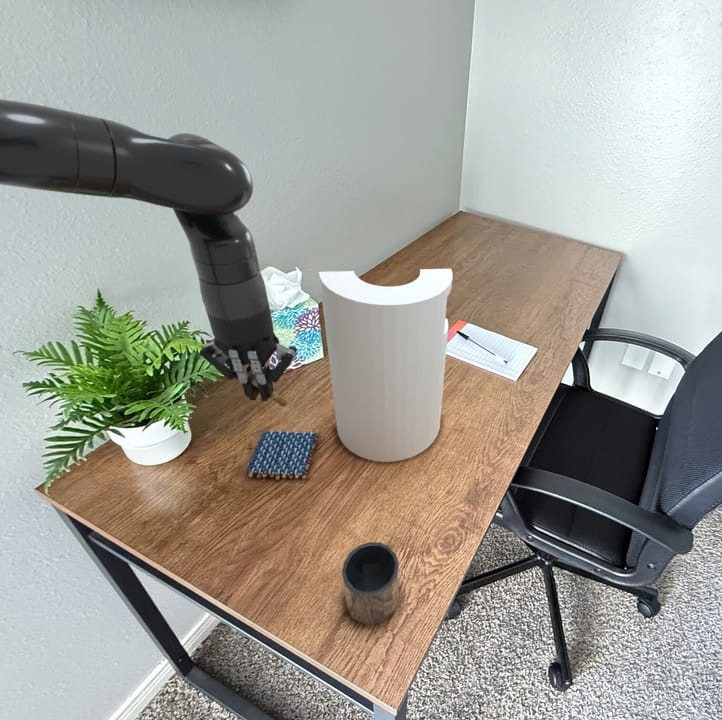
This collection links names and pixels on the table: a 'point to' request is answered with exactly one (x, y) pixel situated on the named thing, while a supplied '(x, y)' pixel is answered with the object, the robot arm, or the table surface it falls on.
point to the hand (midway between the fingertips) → (260, 396)
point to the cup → (371, 582)
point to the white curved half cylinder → (386, 361)
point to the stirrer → (274, 396)
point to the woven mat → (283, 454)
